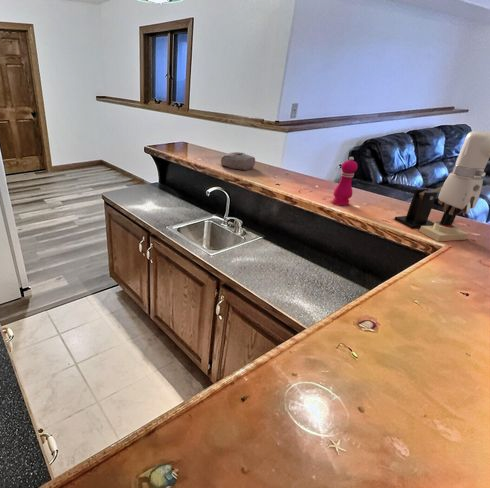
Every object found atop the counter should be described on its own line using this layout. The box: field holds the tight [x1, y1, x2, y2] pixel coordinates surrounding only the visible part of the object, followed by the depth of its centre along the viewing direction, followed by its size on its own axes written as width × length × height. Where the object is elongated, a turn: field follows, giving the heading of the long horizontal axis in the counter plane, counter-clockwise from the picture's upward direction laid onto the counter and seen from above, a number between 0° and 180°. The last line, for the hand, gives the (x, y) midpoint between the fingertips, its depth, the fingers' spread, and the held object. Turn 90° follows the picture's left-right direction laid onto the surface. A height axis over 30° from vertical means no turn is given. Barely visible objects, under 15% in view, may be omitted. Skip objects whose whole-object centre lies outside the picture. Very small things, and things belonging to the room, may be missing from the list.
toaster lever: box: [419, 185, 443, 200], centre depth 126 cm, size 14×5×2 cm, turn 99°
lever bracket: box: [393, 188, 438, 230], centre depth 128 cm, size 10×9×13 cm
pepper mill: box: [332, 156, 359, 207], centre depth 146 cm, size 7×7×20 cm
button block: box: [418, 220, 469, 242], centre depth 121 cm, size 11×8×4 cm
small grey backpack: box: [219, 151, 256, 171], centre depth 204 cm, size 15×8×20 cm
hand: (445, 224), depth 120 cm, fingers closed
